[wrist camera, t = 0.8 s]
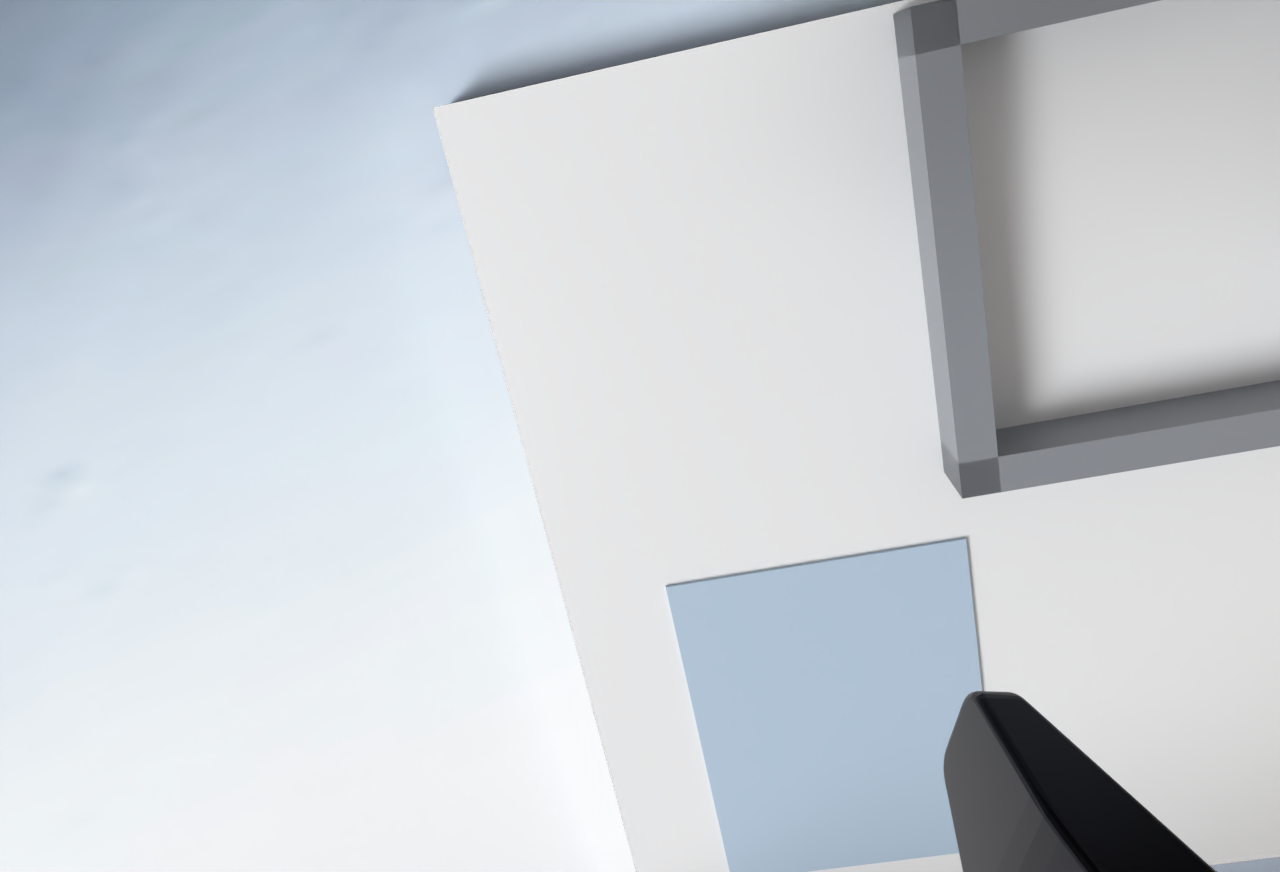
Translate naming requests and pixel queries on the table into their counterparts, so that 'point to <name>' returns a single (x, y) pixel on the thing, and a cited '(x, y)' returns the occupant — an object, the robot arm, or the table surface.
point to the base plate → (903, 411)
